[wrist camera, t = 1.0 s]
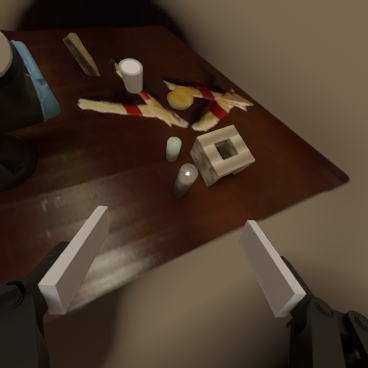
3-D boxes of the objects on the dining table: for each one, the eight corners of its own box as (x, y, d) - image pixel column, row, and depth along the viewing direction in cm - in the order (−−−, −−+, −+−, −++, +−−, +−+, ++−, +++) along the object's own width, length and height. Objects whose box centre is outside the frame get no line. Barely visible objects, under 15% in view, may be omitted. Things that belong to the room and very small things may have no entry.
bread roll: (162, 101, 53) (163, 92, 50) (178, 88, 56) (180, 78, 53) (181, 116, 53) (182, 107, 49) (196, 102, 56) (199, 92, 52)
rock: (67, 42, 51) (56, 59, 46) (74, 17, 45) (63, 34, 41) (101, 69, 58) (95, 85, 54) (111, 50, 53) (105, 66, 48)
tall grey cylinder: (169, 189, 44) (176, 167, 29) (180, 184, 45) (192, 161, 30) (175, 200, 44) (184, 184, 29) (186, 195, 45) (201, 177, 30)
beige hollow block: (190, 153, 49) (196, 137, 40) (220, 142, 52) (233, 124, 44) (207, 186, 47) (218, 176, 38) (238, 172, 50) (255, 160, 41)
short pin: (163, 153, 47) (165, 139, 40) (174, 150, 48) (177, 135, 41) (168, 163, 47) (171, 150, 39) (179, 159, 48) (183, 146, 40)
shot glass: (120, 80, 53) (115, 59, 46) (140, 78, 54) (138, 57, 48) (127, 96, 51) (122, 76, 45) (146, 93, 53) (145, 73, 46)
